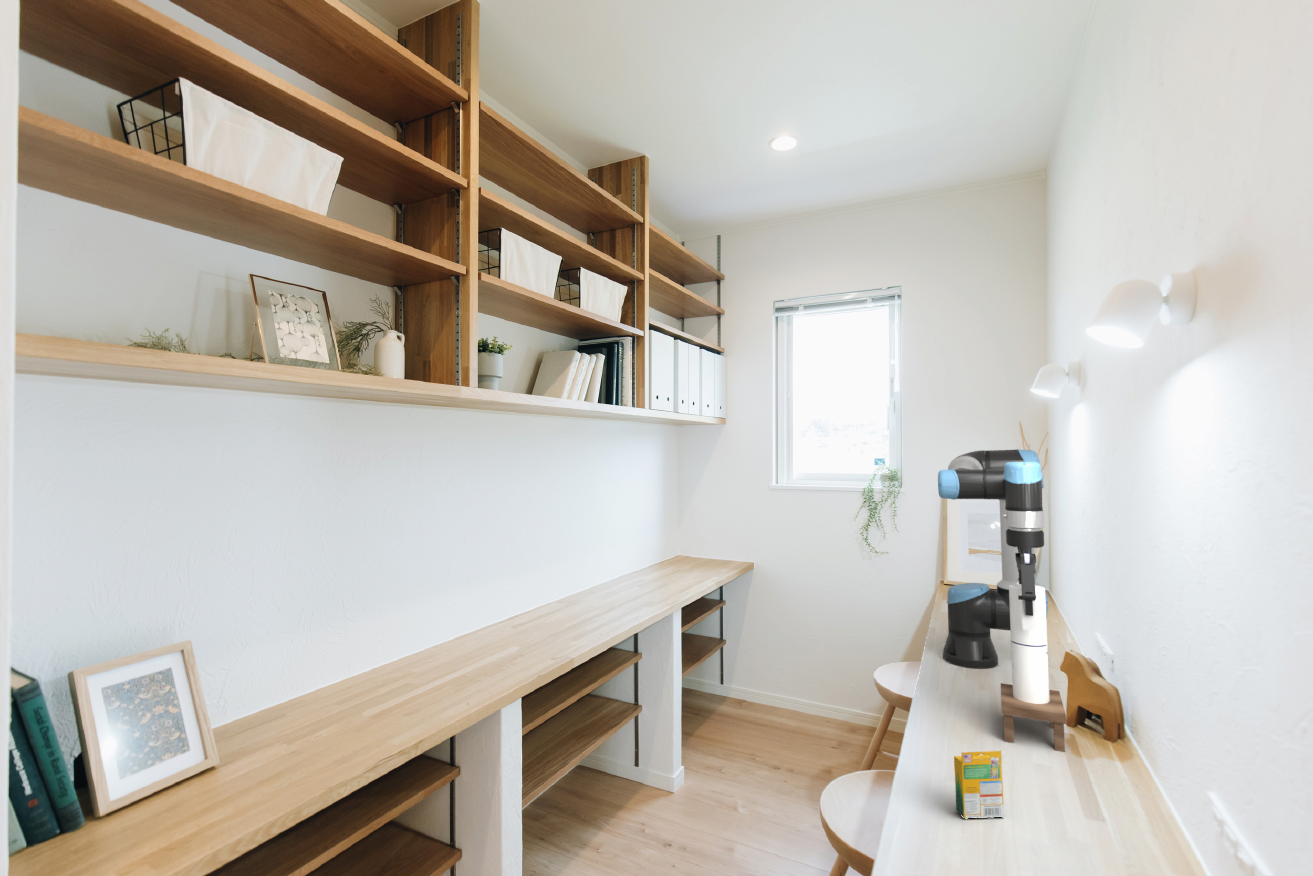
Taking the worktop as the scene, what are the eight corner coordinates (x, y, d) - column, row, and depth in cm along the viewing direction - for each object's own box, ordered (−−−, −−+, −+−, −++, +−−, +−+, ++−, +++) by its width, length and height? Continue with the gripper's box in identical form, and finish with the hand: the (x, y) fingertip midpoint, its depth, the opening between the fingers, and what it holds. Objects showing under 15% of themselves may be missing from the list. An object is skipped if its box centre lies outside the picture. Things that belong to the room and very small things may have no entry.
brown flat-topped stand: (1001, 716, 151) (1000, 683, 152) (1060, 725, 146) (1059, 691, 146) (1002, 741, 138) (1001, 705, 138) (1067, 753, 132) (1065, 714, 133)
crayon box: (995, 809, 112) (992, 743, 113) (1005, 818, 109) (1002, 751, 110) (955, 810, 112) (952, 744, 112) (963, 820, 109) (961, 752, 109)
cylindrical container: (1005, 695, 144) (1001, 585, 145) (1027, 690, 147) (1022, 583, 148) (1035, 706, 138) (1030, 591, 138) (1056, 700, 140) (1052, 588, 141)
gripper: (1004, 522, 156) (1007, 608, 156) (1006, 534, 134) (1010, 634, 134) (1039, 523, 153) (1043, 611, 152) (1048, 536, 131) (1052, 638, 130)
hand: (1028, 622), depth 143 cm, fingers open, 13 cm apart
